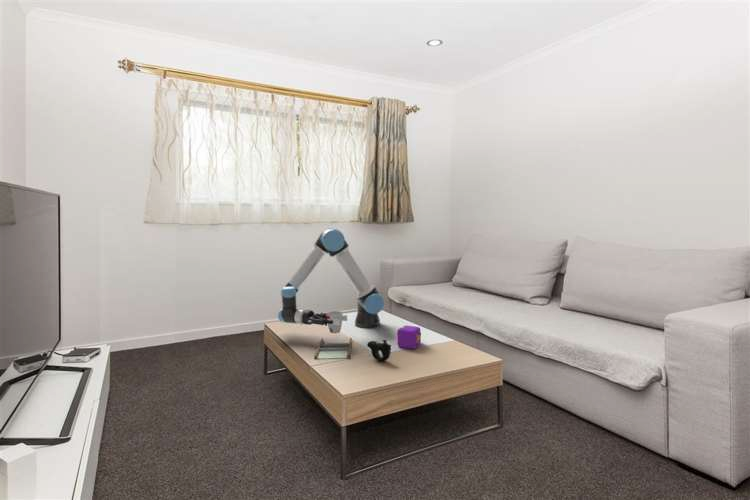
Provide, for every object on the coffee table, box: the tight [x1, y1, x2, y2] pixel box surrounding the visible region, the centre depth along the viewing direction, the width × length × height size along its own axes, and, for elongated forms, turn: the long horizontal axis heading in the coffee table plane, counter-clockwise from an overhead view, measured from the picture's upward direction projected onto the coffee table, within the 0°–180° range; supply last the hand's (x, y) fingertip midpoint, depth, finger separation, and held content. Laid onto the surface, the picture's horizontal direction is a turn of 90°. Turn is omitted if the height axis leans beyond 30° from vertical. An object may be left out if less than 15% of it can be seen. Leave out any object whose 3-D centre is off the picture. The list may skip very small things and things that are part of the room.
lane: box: [313, 337, 353, 360], centre depth 206 cm, size 16×27×2 cm, turn 0°
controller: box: [366, 339, 392, 363], centre depth 189 cm, size 4×12×10 cm, turn 49°
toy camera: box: [396, 325, 422, 350], centre depth 210 cm, size 11×14×10 cm
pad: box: [316, 351, 348, 360], centre depth 198 cm, size 14×10×1 cm
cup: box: [326, 310, 343, 334], centre depth 215 cm, size 8×8×10 cm
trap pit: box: [320, 342, 349, 351], centre depth 207 cm, size 14×8×2 cm, turn 90°
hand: (343, 320), depth 213 cm, fingers closed on cup, 8 cm apart
